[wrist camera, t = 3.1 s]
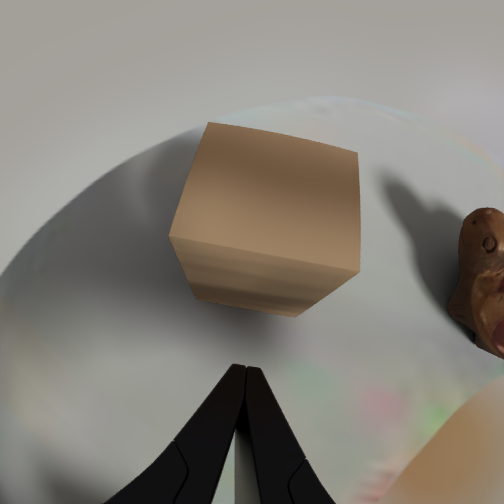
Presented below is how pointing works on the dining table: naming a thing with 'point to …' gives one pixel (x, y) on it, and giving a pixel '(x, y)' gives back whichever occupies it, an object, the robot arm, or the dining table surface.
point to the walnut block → (268, 220)
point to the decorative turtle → (481, 279)
